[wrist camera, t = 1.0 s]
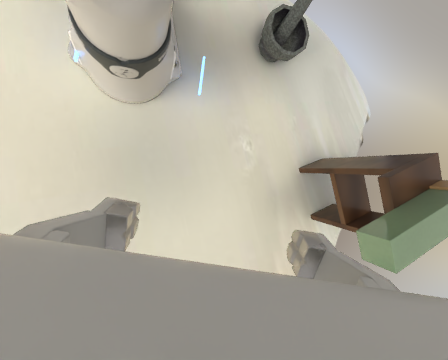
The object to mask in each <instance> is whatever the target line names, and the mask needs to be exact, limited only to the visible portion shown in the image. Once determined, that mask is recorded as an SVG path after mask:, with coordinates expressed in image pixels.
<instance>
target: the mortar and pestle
mask: <svg viewBox="0 0 448 360" xmlns="http://www.w3.org/2000/svg"><path fill="white" fill-rule="evenodd" d="M311 2H312V0H297V1H296V2H295V4H294V5H293V7H292V6H288V5H284V4H282V5H281V6H279V7H278V8H276V9H274V10H273V11H272V12H271V13H270V14H269V16H268V17H267V19H266V21H265V25H264V28H263V32H262V37H261V40H260V43H259V48H260V52H261V55H262V56H263V57H264V58H265V59H266V60H267V61H272V62H275V61H276V60H283V61H288V60H290V59H292V58H293V57H295V56H296V55H297V54H299V53H300V52H302V51H303V50H304V49H306V45H307V41H308V38H309V32H308V28H307V23H306V19H305V18H304V17H303V14H304V13H305V11H306V10H307V8H308V6H309V5H310V3H311Z"/></svg>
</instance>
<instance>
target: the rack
mask: <svg viewBox="0 0 448 360" xmlns="http://www.w3.org/2000/svg"><path fill="white" fill-rule="evenodd" d="M299 171H300V173H326V174H330V177H331V181H332V186H333V190H334V194H335V199H336V203H337V205H336V204H332V205H330V206H328V207H326V208H324V209H322V210H320V211H318V212H316V213H314V214H312V215H311V218H312V219H313V220H317V221H320V222H323V223H326V224H330V225H333V226H336V227H339V228H343V229H346V230H349V231H352V232H356V231H357V230H358V229H360V228H362V227H364V226H365V225H367V224H369V223H371V222H372V221H374V220H376V219H378V218H379V217H381V216H383V215H385V214H386V213H388V212H390V211H391V210H393V209H395V208H397V207H398V206H400V205H402V204H404V203H405V202H407V201H409V200H411V199H412V198H414V197H416V196H418V195H419V194H421V193H423V192H425V191H426V190H428V189H430V188H429V186H431V185H433V184H434V183H436V182H438V181H440V180H442V177H441V170H440V163H439V156H438V153H428V154H411V155H410V154H408V155H388V156H368V157H347V158H326V159H321V160H318V161H316V162H313V163H311V164H308V165H306V166H303V167H301V168H299ZM364 175H381V176H379V177H378V182H379V187H380V192H381V197H382V203H383V208H384V213H385V214H383V213H378V212H372V211H371V209H370V203H369V199H368V194H367V188H366V184H365V179H364Z"/></svg>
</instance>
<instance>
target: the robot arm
mask: <svg viewBox="0 0 448 360" xmlns="http://www.w3.org/2000/svg"><path fill="white" fill-rule="evenodd" d="M65 1H66V3H67V6H68V12H69V20H70V22H71V23H72V25H71V30H68V34H69V37H70V43H69V47H68V53H69V56H70V58H71V59H72V60H73V61H74V62H75V63H76V64H78V65H79V66H80V67H82V68H83V69H85V71H86V72H87V73H88V74H89V76H90V77H91V79H92V80H93V82H94V83H95V84H96V86H97V87H98V88H99V89H100V90H102V91H103V92H104V93H105V94H107V95H108V96H110V97H112V98H114V99H116V100H119V101H122V102H126V103H143V102H147V101H150V100H152V99H154V98H155V97H157V96H158V95H159V94H160V93H161V92H162V91H163V90H164V88H165V87H166V86H167V85H168V84H169V83H170V82H173V81H175V80H176V79H178V78H179V77H180V76H181V64H180V59H179V53H178V47H177V41H176V35H175V29H174V23H173V17H172V11H171V10H172V5H173V0H65ZM204 64H205V56H204V57H203V61H202V69H201V77H200V85H199V93H198V95H200V94H201V87H202V80H203V72H204ZM174 65H176V67H174ZM139 212H140V203H137V202H132V201H126V200H121V199H117V198H110V197H107V198H105V199H104V200H103V201H102V202H101V203H100V204H98V205H97V206H96V207H95V208H94V209H93V210H91V211H83V212H79V213H75V214H71V215H67V216H63V217H59V218H55V219H51V220H47V221H42V222H38V223H34V224H30V225H27V226H26V227H24V228H23V229H21V230H19V231H18V232H16V233H15V234H13V235H8V234H1V233H0V360H448V299H447V298H440V297H433V296H426V295H420V294H413V293H405V292H401V291H400V290H399V289H398V288H397V287H395V285H394V284H392V283H391V281H390V280H388V279H386V278H385V277H383V276H381V275H379V274H378V273H376V272H374V271H373V270H371V269H369V268H368V267H366V266H364V265H362V264H361V263H359V262H357V261H355V260H354V259H352V258H350V257H349V256H347V255H345V254H343V253H342V252H338V251H337V250H336V248H335V247H334V246H333V245H332V244H331V243H330V241H329V240H328V239H327V238H326V237H325V236H324V235H323V234H320V233H314V232H307V231H300V230H295V231H294V232H293V234H292V236H291V237H292V240H293V241H292V242H291V243H289V245H288V248H287V258H288V261H289V262H290V263H291V264H292V265H293V267H292V269H293V271H294V273H295V275H296V276H289V275H282V274H275V273H269V272H262V271H255V270H248V269H241V268H234V267H228V266H221V265H214V264H207V263H200V262H193V261H187V260H180V259H173V258H166V257H159V256H152V255H146V254H139V253H132V252H125V250H126V249H127V247H128V245H129V244H130V239H132V238H133V237H134V235H135V233H136V230H137V227H138V221H139V219H138V218H137V215H138V213H139Z"/></svg>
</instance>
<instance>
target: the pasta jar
mask: <svg viewBox="0 0 448 360" xmlns="http://www.w3.org/2000/svg"><path fill="white" fill-rule="evenodd" d="M429 188H430V189H428V190H426V191H425V192H423V193H421V194H419V195H418V196H416V197H414V198H412V199H411V200H409V201H407V202H405V203H404V204H402V205H400V206H398V207H397V208H395V209H393V210H391V211H390V212H388V213H386V214H385V215H383V216H381V217H379V218H378V219H376V220H374V221H372V222H371V223H369V224H367V225H365V226H364V227H362V228H360V229H358V230H357V231H356V233H357V238H358V242H359V247H360V252H361V256H362V259H363V260H365V261H367V262H370V263H372V264H374V265H377V266H379V267H382V268H384V269H386V270H389V271H391V272H394V273H396V274H397V273H398V272H400V271H401V270H402V269H404V268H405V267H407V266H408V265H409V264H411V263H412V262H414V261H415V260H416V259H418V258H419V257H420V256H422V255H423V254H425V253H426V252H427V251H429V250H430V249H432V248H433V247H434V246H436V245H437V244H439V243H440V242H441V241H443V240H444V239H446V238H447V237H448V180H440V181H438V182H436V183H434V184H433V185H431V186H429Z"/></svg>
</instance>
